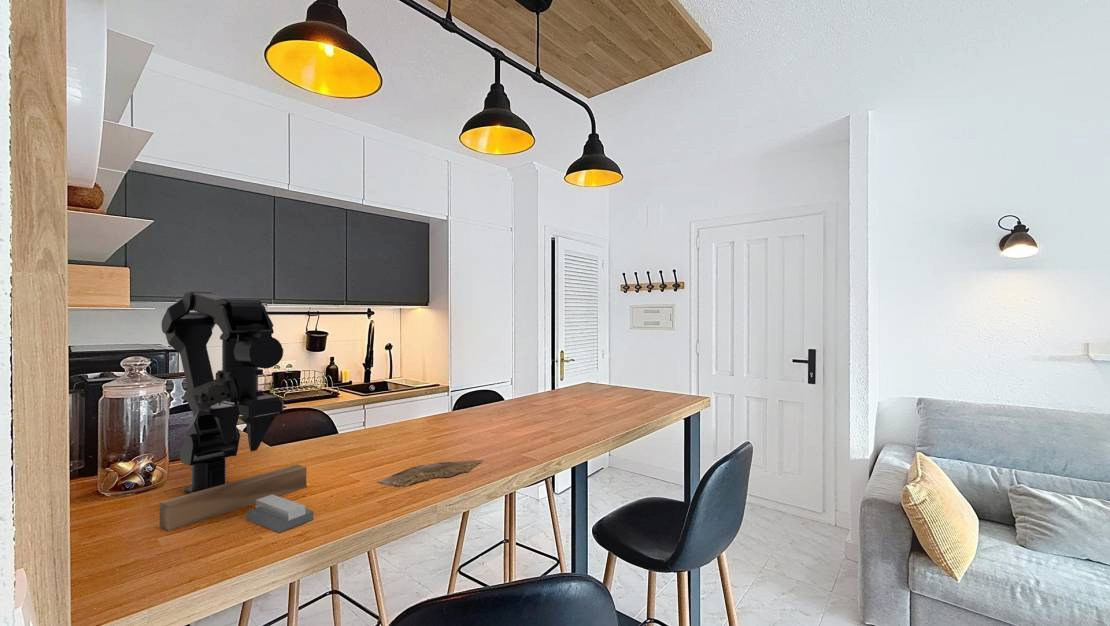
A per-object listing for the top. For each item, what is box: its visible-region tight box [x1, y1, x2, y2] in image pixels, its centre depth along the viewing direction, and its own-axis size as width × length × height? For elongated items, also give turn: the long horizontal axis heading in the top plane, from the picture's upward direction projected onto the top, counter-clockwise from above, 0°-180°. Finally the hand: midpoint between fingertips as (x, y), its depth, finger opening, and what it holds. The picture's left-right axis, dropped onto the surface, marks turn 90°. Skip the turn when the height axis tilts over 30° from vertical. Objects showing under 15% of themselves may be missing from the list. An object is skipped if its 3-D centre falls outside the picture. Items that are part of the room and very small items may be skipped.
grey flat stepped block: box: [246, 494, 314, 534], centre depth 86 cm, size 10×6×3 cm, turn 60°
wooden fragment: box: [376, 459, 484, 488], centre depth 112 cm, size 26×11×1 cm, turn 126°
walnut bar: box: [159, 463, 307, 532], centre depth 93 cm, size 4×24×4 cm, turn 149°
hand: (240, 447), depth 93 cm, fingers open, 9 cm apart
